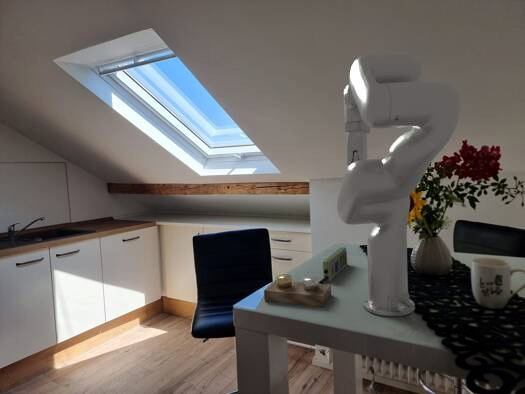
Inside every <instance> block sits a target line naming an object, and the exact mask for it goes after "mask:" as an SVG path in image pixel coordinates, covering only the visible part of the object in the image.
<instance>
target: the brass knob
mask: <svg viewBox="0 0 525 394" xmlns="http://www.w3.org/2000/svg"><path fill="white" fill-rule="evenodd" d="M275 281H277V287H280V288H288V287H290V286H292V282H293V279H292V275H291V274H286V273H285V274H283V273H282V274H278V275H276V278H275Z"/></svg>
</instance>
